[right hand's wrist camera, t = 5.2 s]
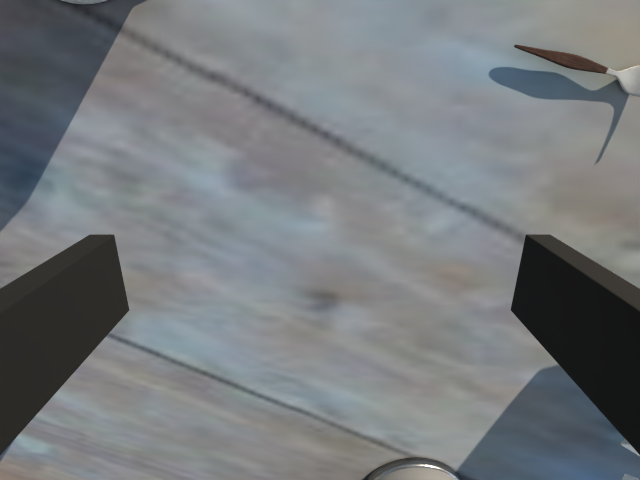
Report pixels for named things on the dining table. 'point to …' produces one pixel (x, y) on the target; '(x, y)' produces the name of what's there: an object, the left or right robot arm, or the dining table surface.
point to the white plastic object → (627, 478)
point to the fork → (590, 67)
